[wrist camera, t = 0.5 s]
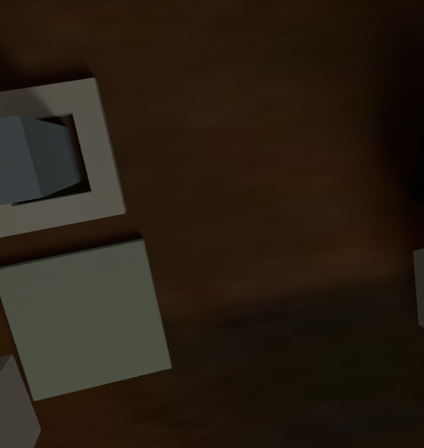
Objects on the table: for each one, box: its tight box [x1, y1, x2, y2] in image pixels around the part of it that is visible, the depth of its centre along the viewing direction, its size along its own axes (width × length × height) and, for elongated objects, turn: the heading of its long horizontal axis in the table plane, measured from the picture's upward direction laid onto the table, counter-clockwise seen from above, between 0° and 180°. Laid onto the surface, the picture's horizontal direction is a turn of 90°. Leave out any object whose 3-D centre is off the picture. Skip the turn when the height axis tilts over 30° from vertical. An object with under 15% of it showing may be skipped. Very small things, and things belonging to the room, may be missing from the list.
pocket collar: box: [0, 78, 127, 237], centre depth 33 cm, size 12×12×2 cm
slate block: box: [0, 115, 81, 205], centre depth 28 cm, size 5×5×12 cm
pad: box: [0, 238, 171, 401], centre depth 37 cm, size 14×14×1 cm
